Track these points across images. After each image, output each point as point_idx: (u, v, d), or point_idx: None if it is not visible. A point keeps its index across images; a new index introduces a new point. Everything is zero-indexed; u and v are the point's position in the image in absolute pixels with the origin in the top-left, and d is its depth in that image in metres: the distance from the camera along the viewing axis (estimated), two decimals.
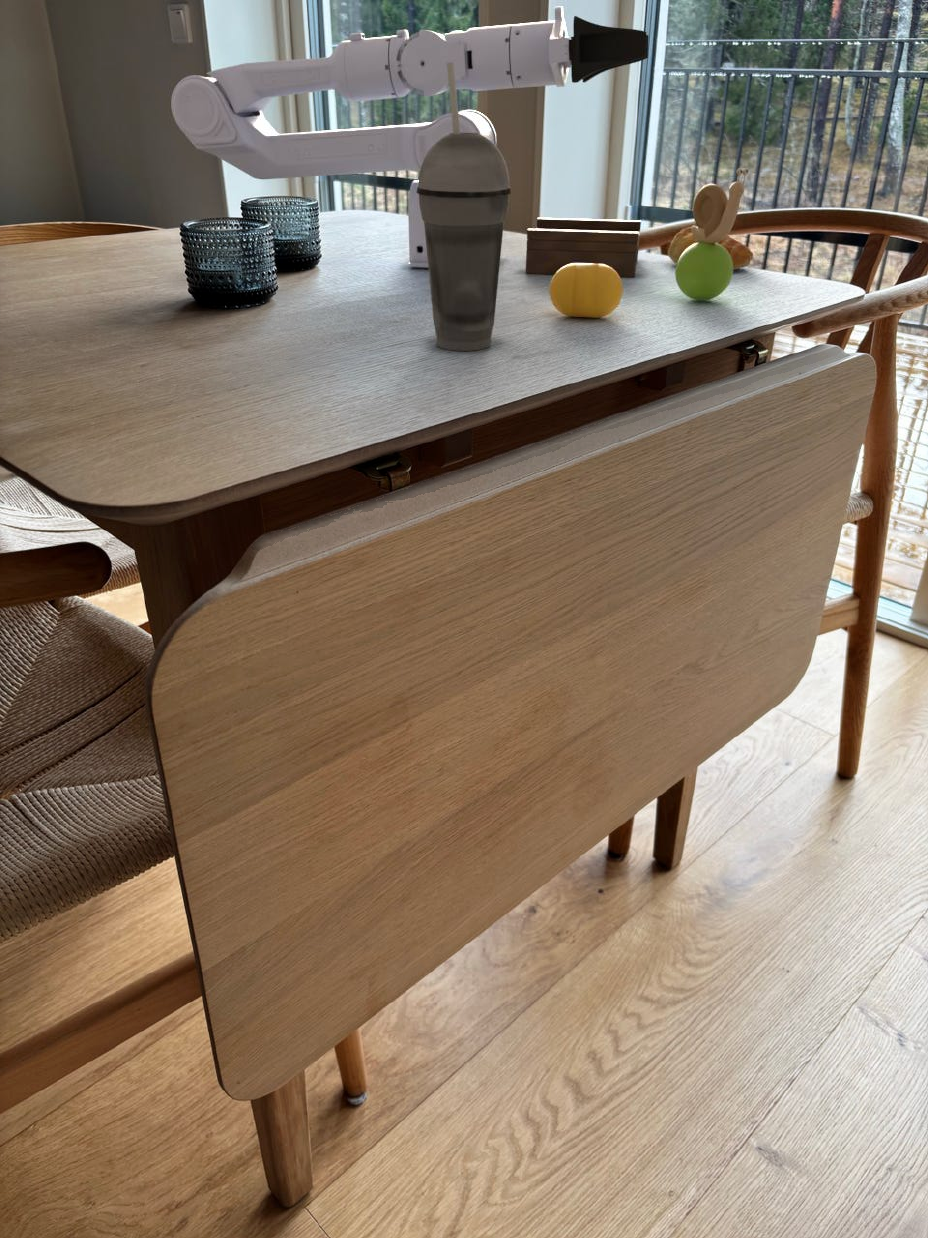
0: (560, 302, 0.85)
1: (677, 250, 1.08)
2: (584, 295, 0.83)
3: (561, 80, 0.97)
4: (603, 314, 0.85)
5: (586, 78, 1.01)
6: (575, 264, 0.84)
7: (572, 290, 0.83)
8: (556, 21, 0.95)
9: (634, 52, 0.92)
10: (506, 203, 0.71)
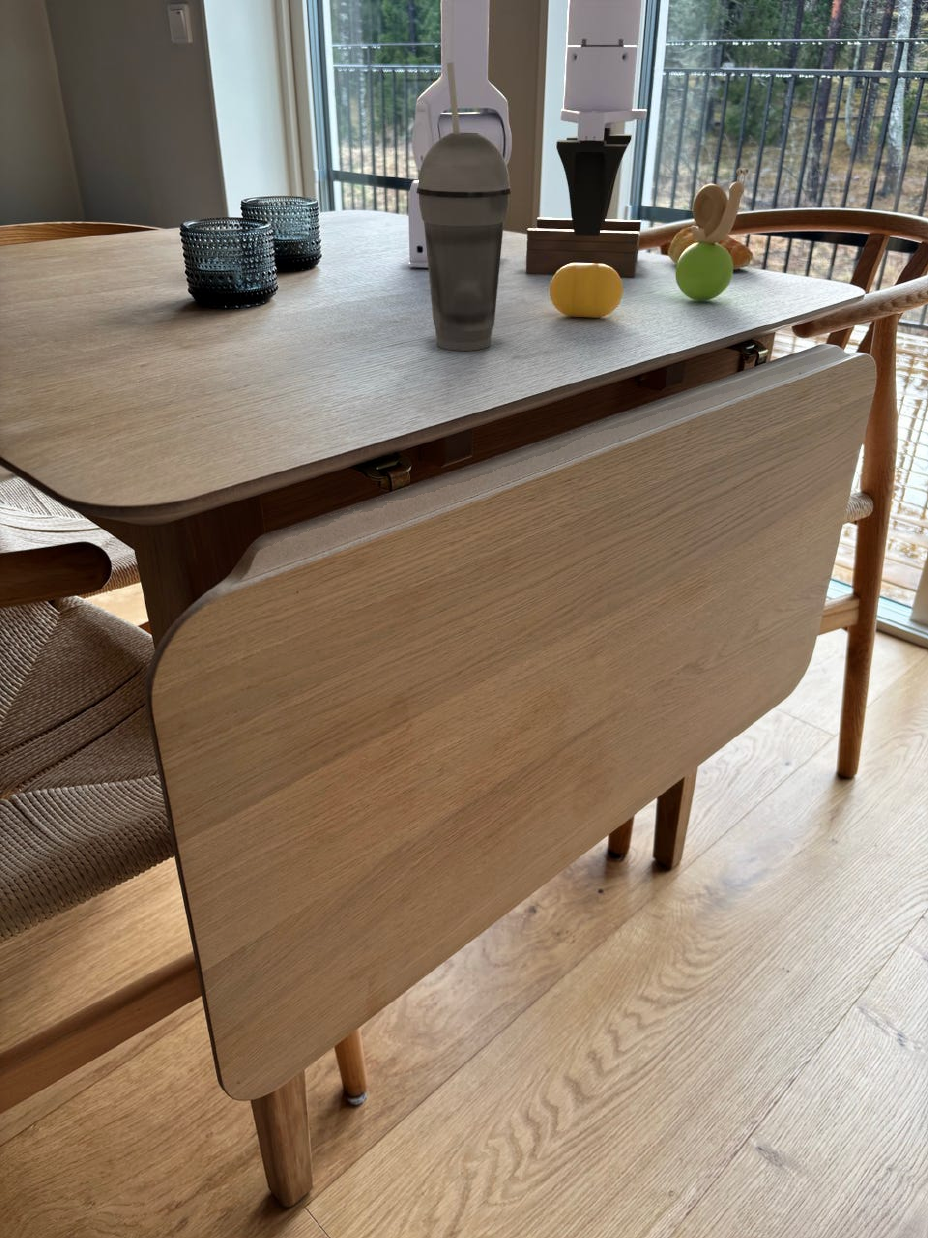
0: (560, 302, 0.85)
1: (677, 250, 1.08)
2: (584, 295, 0.83)
3: (564, 119, 0.77)
4: (603, 314, 0.85)
5: None
6: (575, 264, 0.84)
7: (572, 290, 0.83)
8: (629, 113, 0.76)
9: (579, 221, 0.79)
10: (506, 203, 0.71)
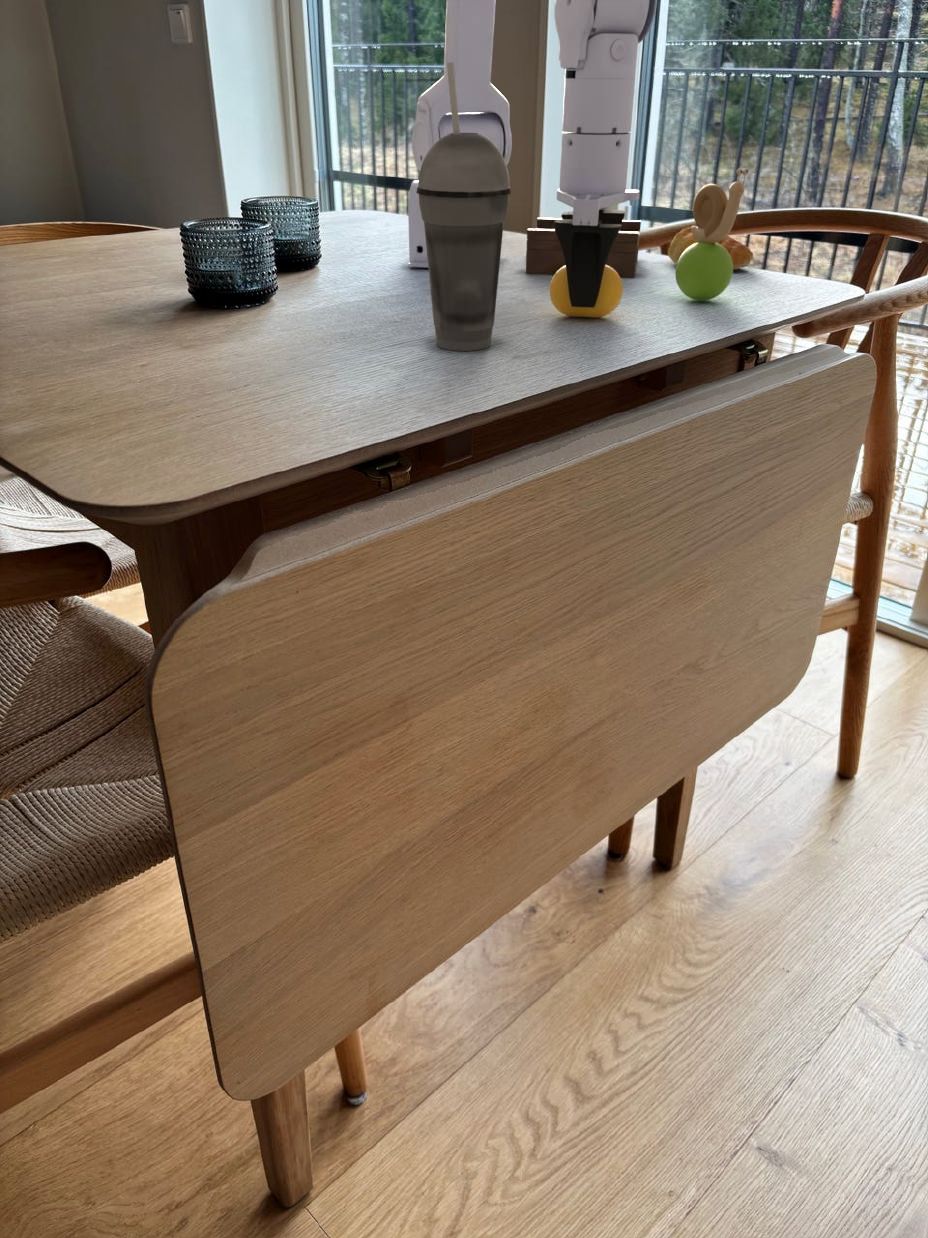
0: (560, 302, 0.85)
1: (677, 250, 1.08)
2: None
3: (560, 200, 0.80)
4: (603, 314, 0.85)
5: None
6: None
7: None
8: (622, 195, 0.80)
9: (576, 294, 0.83)
10: (506, 203, 0.71)
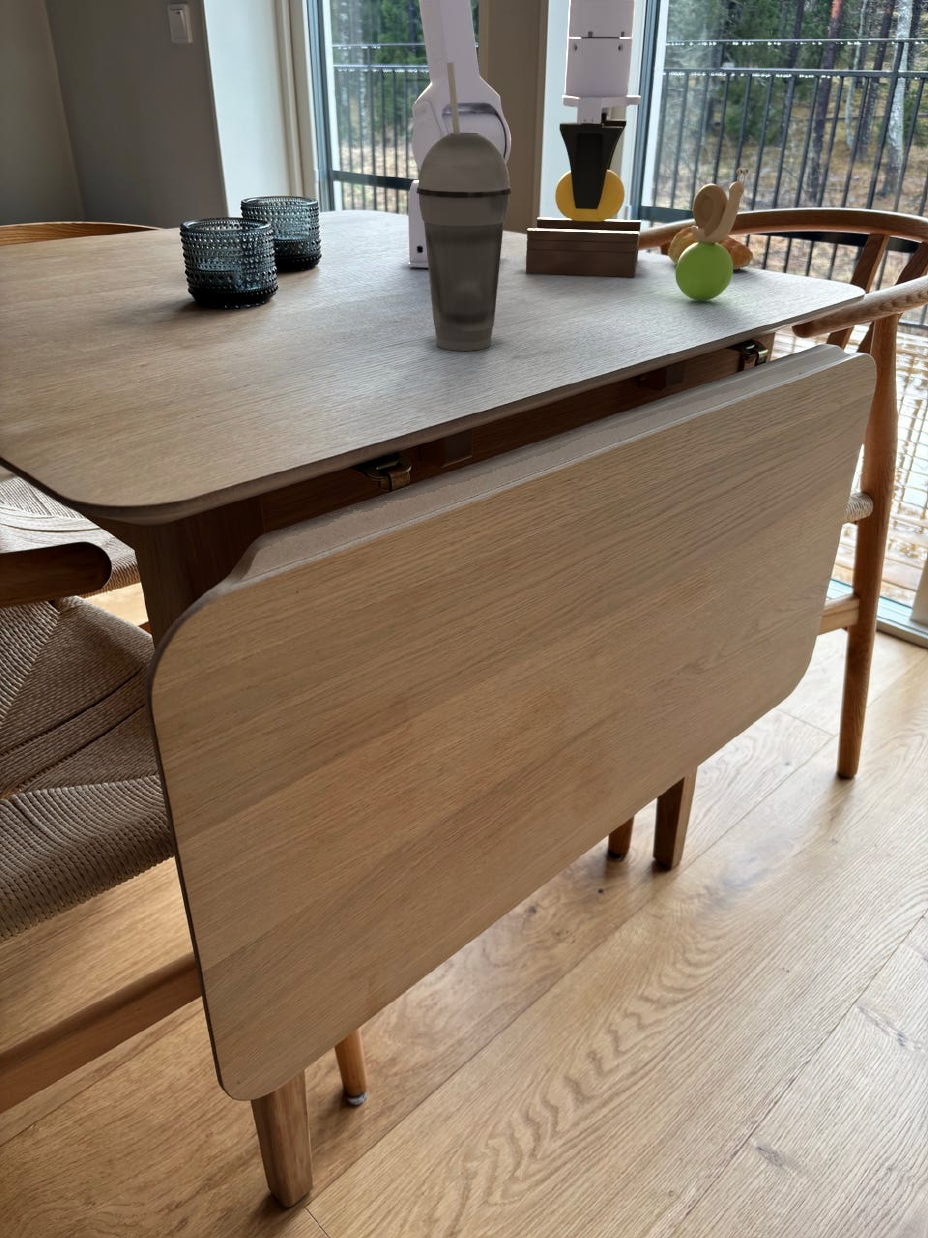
0: (565, 205, 0.89)
1: (677, 250, 1.08)
2: None
3: (565, 104, 0.85)
4: (606, 217, 0.90)
5: None
6: None
7: None
8: (624, 99, 0.84)
9: (580, 195, 0.88)
10: (506, 203, 0.71)
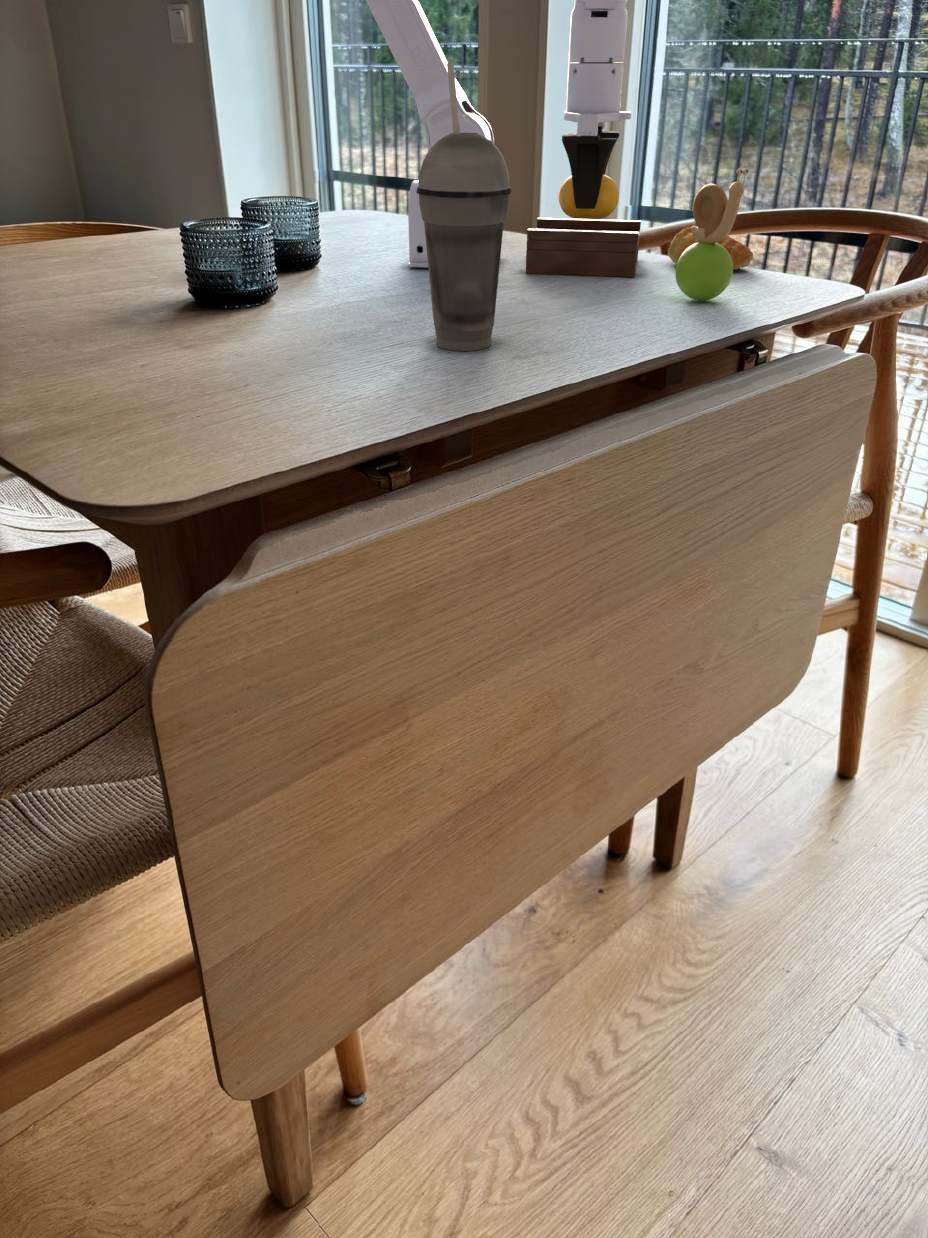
0: (567, 205, 1.04)
1: (677, 250, 1.08)
2: None
3: (567, 119, 0.99)
4: (602, 215, 1.04)
5: None
6: None
7: None
8: (617, 114, 0.99)
9: (579, 197, 1.02)
10: (506, 203, 0.71)
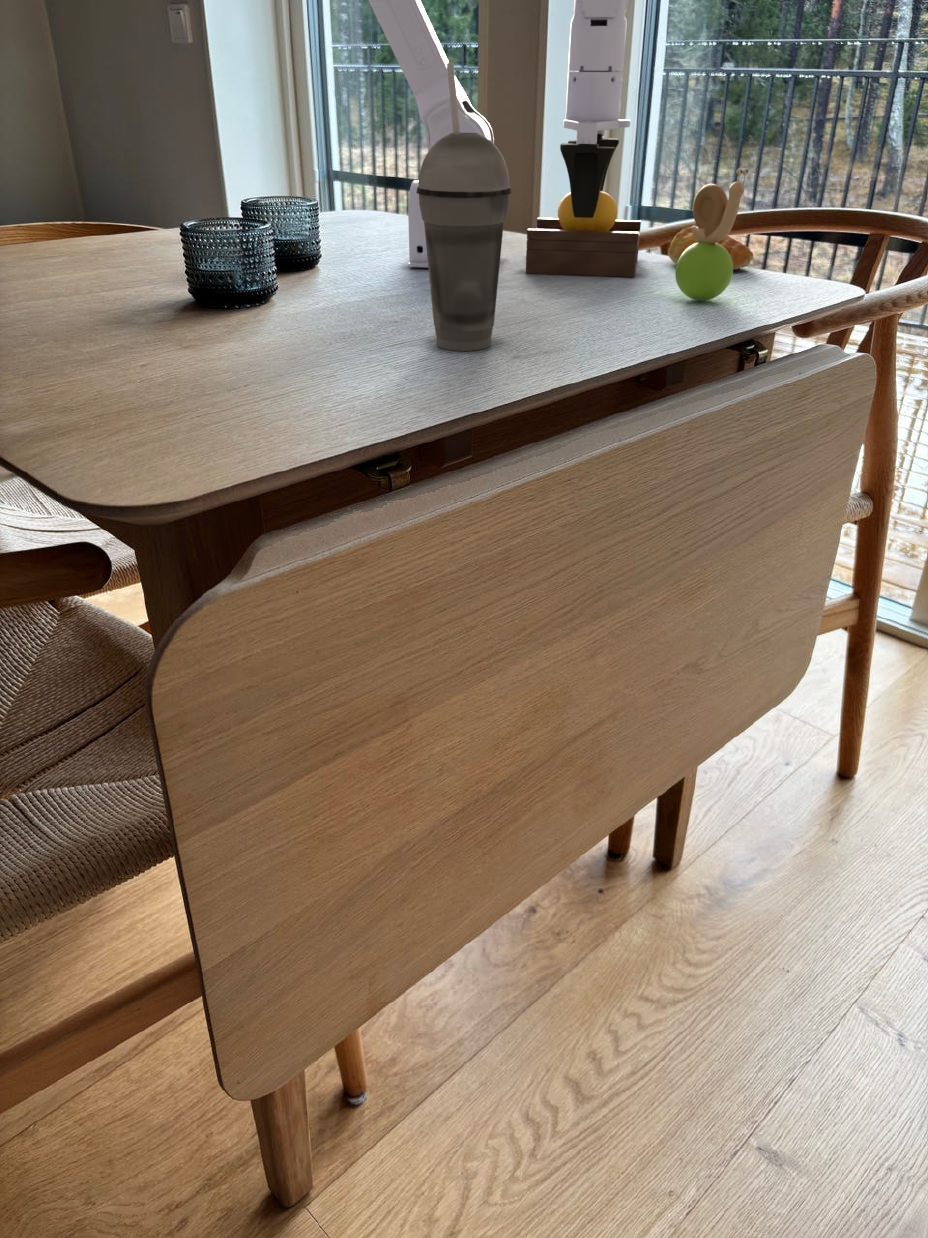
0: (566, 225, 1.04)
1: (677, 250, 1.08)
2: (585, 219, 1.03)
3: (566, 127, 1.00)
4: None
5: None
6: None
7: None
8: (616, 122, 0.99)
9: (578, 206, 1.01)
10: (506, 203, 0.71)
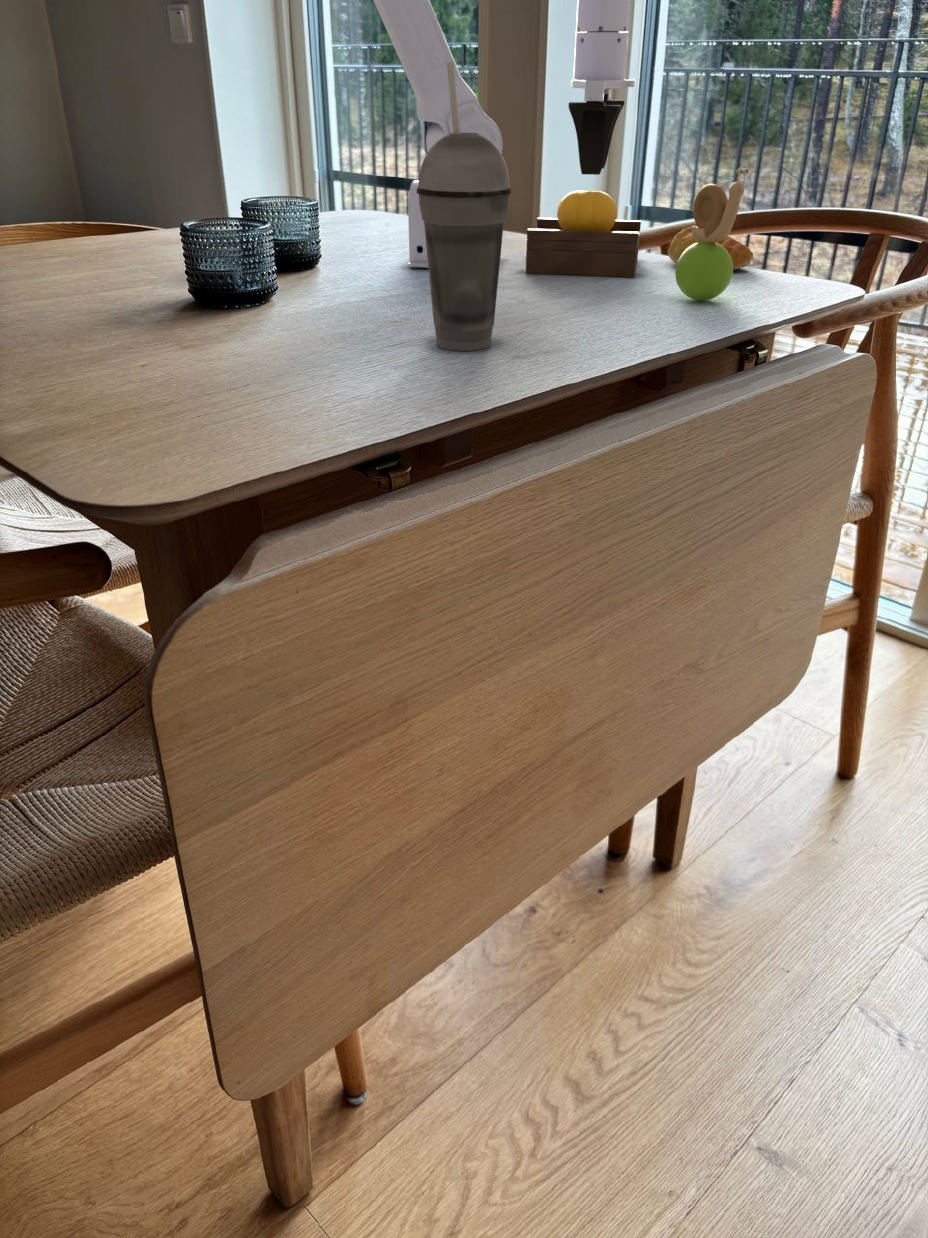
0: (566, 229, 1.04)
1: (677, 250, 1.08)
2: (585, 226, 1.03)
3: (574, 86, 1.04)
4: None
5: None
6: (577, 196, 1.02)
7: (575, 222, 1.03)
8: (622, 82, 1.03)
9: (585, 163, 1.05)
10: (506, 203, 0.71)
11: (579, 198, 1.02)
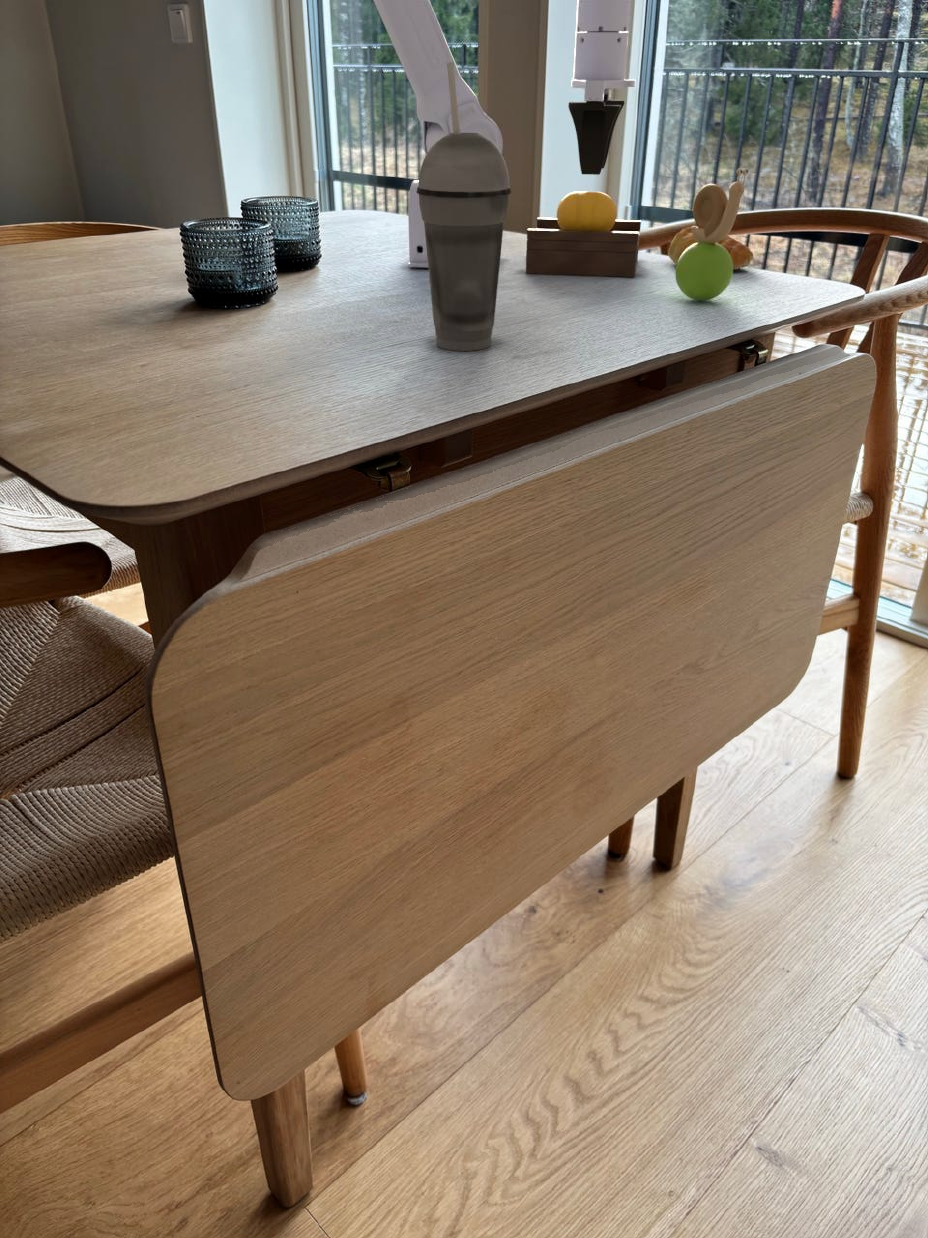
0: None
1: (677, 250, 1.08)
2: None
3: (574, 86, 1.04)
4: None
5: None
6: (576, 201, 1.02)
7: (574, 227, 1.03)
8: (622, 82, 1.03)
9: (585, 163, 1.05)
10: (506, 203, 0.71)
11: (578, 203, 1.02)
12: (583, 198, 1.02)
